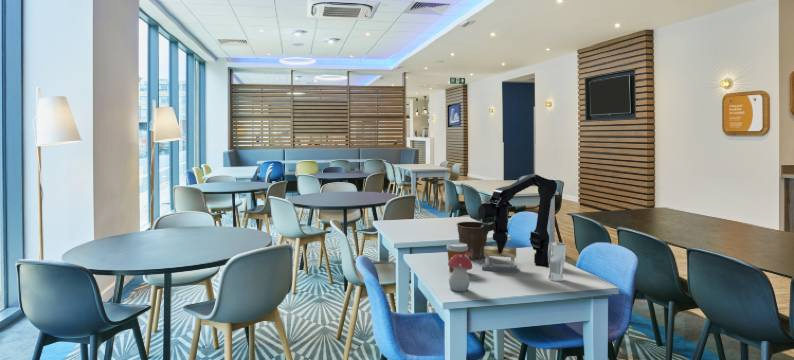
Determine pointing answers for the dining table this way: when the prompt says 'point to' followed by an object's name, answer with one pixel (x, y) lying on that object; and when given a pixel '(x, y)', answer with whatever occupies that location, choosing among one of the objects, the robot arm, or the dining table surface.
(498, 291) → the dining table surface
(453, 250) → the lidded amber jar
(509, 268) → the peg stand
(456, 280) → the decorative ornament
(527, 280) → the dining table surface
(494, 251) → the oak plank
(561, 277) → the beer glass
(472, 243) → the plant pot
